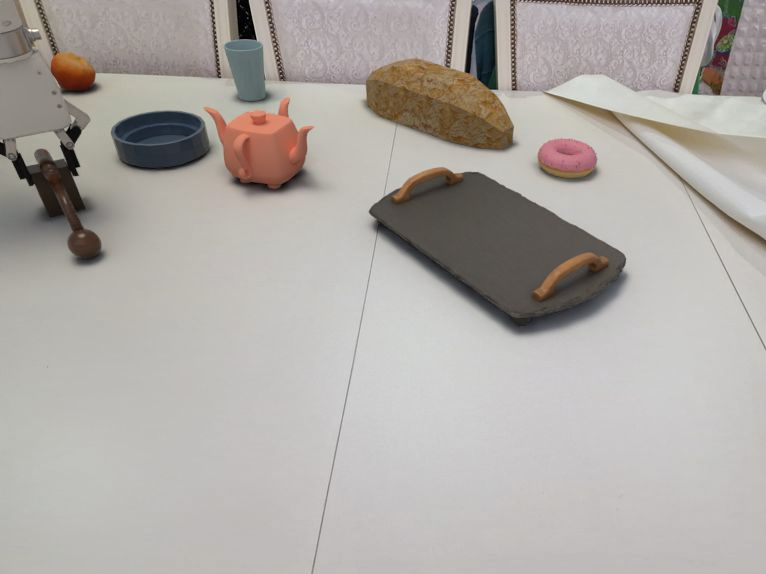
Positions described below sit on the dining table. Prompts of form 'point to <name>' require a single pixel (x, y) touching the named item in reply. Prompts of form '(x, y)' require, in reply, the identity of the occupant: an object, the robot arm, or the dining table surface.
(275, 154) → the teapot
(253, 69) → the cup
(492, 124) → the bread
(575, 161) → the doughnut
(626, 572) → the dining table surface
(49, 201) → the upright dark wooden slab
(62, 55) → the fruit
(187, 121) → the bowl
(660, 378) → the dining table surface
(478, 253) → the serving tray
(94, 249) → the brown ball-ended stick
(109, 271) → the dining table surface
